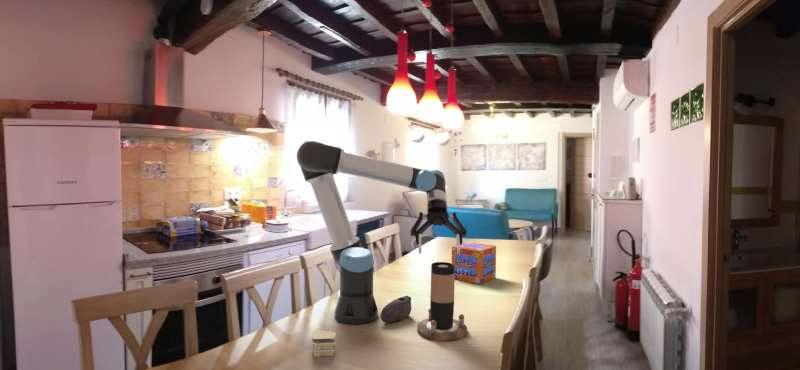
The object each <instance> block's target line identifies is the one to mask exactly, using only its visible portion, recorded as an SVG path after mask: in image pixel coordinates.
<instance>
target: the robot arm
mask: <svg viewBox="0 0 800 370" xmlns="http://www.w3.org/2000/svg"><path fill="white" fill-rule="evenodd" d="M296 161H297V163H298V165H299V166H300V169H301V172H302V175H303V178H304V181H305V182H307V183H309V184H310V185H311V187H312V191H313V193H314V196H315V198H316V201H317V204H318V208H319V210H320V213H321V215H322V219H323V221H324V224H325V227H326V229H327V232H328V235H329V237H330V240H331V245H330V248H329V250H330V252H331V255H332V258H333V261H334V266H335V268H336V270H337V271H338V273H339V296H338V297H339V298H338V301H337V302H336V303H337V304H336V306H335V308H334V309H335V310H334V319H335V320H336V321H337V322H339V323H342V324H347V325H362V324H368V323H372V322H374V321H376V319H378V317H379V309H378V305H377V303H376V300H375V295H374V264H375V259H374V254H373V252H372V251H371V250H370V249H368V248H364V247H363V246H362V243H361V240H360V237H359V236H356V235H354V233H353V228H352V226H351V224H350V220H349V218H348V216H347V211H346V210H345V206H344V204H343V200H342V198H341V195H340V193H339V189H338V186H337V184H336V181H335V177H334V175H337V174H339V173H342V174H346V175H350V176H354V177H359V178H363V179H368V180H372V181H376V182H377V181H378V182H383V183H386V184H391V185H395V186H399V187H404V188H408V189H411V190H414V191H415V190H416V191H419V192H422V193H426V206H427V207H426V208H427V209H426V211H427V212H426V213H423V212H422V211H421V212H419V215H418V217H417V219H416V220H415V222H414V225H413V226H412V227H411V229H410V236H411V237H415V245H418V254H422V234H423V233H424V232H425V231H427V229H428V228H430V227H431V226H432V225H433V226H444V227H445V228H447V229H448V230H450V231H451V232H452V233H453V234H454V235H455V236H456V237H455V241H456V245H457V254H460V245H462V244H463V242H464V241H463V237H466V236H467V233H468V232H467V229H466V228H465V226H464V225H463V224H462V222H461V221H460V219H458V217H457V213H456V212H452V213H451V214H449V212H448V205H447V201H448V200H447V190H446V189H447V188H446V177H445V175H444V173H443V172H442V171H440V170H439V169H438V170H437V169H436V170H428V169H420V168H417V167H412V166H409V165H404V164H400V163H396V162H392V161H389V160H384V159H381V158H376V157H375V158H374V157H371V156H367V155H364V154H358V153H355V152H351V151H347V150H344V148H343V147H341V146H337V145H335V144H331V143H328V142H326V141H323V140H321V139H316V138H314V139H313V138H312V139H308V140H306V141H305V142H302V144H301V145H300V146H299V148H298V150H297V153H296ZM425 219H427V220H426V221H425V222H424V223H423V224H422V225H421V223H422V222H423V221H424V220H425ZM450 220H451V221H453V223H452V222H451V221H450ZM420 225H421V226H420Z"/></svg>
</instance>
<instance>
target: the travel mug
mask: <svg viewBox="0 0 800 370" xmlns="http://www.w3.org/2000/svg"><path fill="white" fill-rule="evenodd" d="M430 271H431V272H430V295H429V296H430V301H429V302H430V304H429V305H430V307H429V308H431V321H432V320H435V321H436V322H437V324H436V329H438V330H448V329H451V328H452V327H453V319H454V308H455V279H454V278H455V265H454V266H453V265H452V262H445V261H436V262H433V263H431V267H430Z"/></svg>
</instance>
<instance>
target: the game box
mask: <svg viewBox="0 0 800 370" xmlns="http://www.w3.org/2000/svg"><path fill="white" fill-rule="evenodd" d="M451 264H452V265H453V266H454V265H455V278H454V280H459V281H463V282H467V283H472V284H476V285H477V284H478V285H481V284H484V283H486V282H489V281H491V280H493V279H495V278H497V277H496V275H497V273H496V271H497V269H496V268H497V246H496V245H494V244H493V245H492V244H485V243H479V242H470V241H467V242H464V243H463V242H462V245H460V254H457V244H456V245H453V246H451Z"/></svg>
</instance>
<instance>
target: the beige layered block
mask: <svg viewBox="0 0 800 370" xmlns="http://www.w3.org/2000/svg"><path fill="white" fill-rule="evenodd" d="M336 334H337V332H334V331H328V330H327V331H326V330H314V331H313V332H311V341H312V342H311V350H312V351H313V356H314V357H315V358H316V357H322V356H326V357H329V356H331V357H332V356H334V354H335V349H336V346H337V344H336V343H335V342H336V339H337V337H336Z"/></svg>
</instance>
